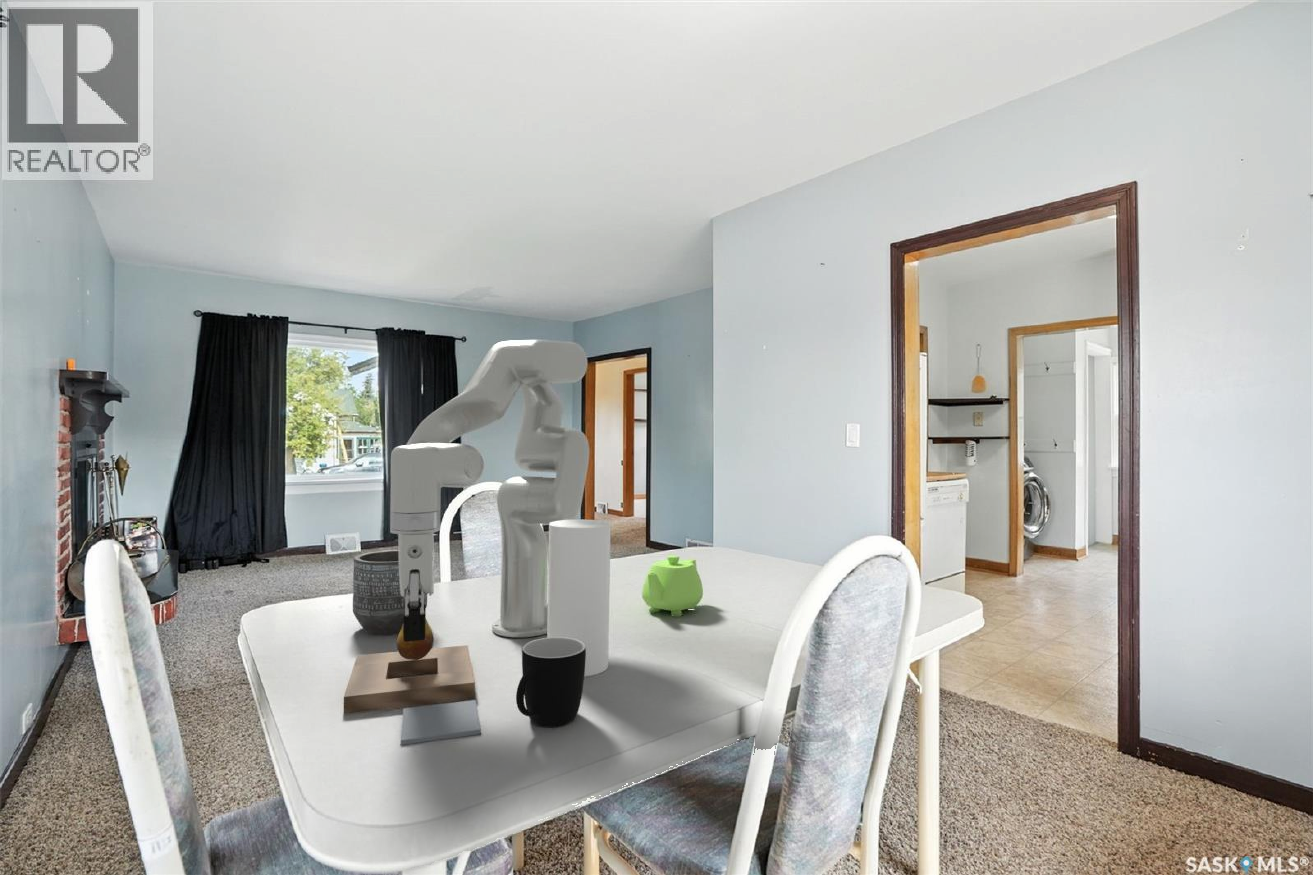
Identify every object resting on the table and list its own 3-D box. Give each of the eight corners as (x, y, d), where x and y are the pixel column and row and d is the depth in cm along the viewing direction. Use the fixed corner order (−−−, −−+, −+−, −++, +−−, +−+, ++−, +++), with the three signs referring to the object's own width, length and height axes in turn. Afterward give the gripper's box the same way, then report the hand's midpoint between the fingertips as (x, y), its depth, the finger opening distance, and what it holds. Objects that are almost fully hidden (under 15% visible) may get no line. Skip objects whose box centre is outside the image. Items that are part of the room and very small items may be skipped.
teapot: (673, 625, 136) (674, 566, 136) (623, 615, 143) (624, 559, 143) (717, 605, 153) (718, 553, 153) (670, 597, 160) (671, 547, 160)
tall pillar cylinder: (617, 659, 114) (619, 521, 114) (592, 681, 104) (595, 529, 104) (564, 652, 118) (566, 517, 118) (535, 672, 108) (537, 525, 108)
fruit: (423, 649, 106) (424, 577, 106) (439, 658, 102) (439, 584, 102) (390, 657, 102) (390, 583, 102) (405, 667, 98) (405, 589, 98)
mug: (547, 699, 97) (549, 633, 97) (596, 713, 92) (598, 643, 92) (492, 731, 86) (493, 656, 86) (544, 747, 82) (545, 669, 82)
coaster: (475, 704, 95) (475, 700, 95) (480, 733, 85) (480, 729, 85) (403, 712, 91) (403, 708, 91) (400, 744, 82) (400, 740, 82)
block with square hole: (467, 659, 113) (467, 645, 113) (474, 698, 96) (474, 682, 96) (356, 670, 107) (357, 655, 107) (343, 714, 90) (343, 696, 90)
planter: (336, 632, 127) (337, 558, 127) (390, 614, 140) (391, 547, 140) (390, 642, 122) (391, 564, 122) (441, 622, 135) (442, 552, 135)
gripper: (441, 529, 95) (440, 649, 95) (439, 514, 111) (438, 617, 111) (387, 531, 93) (386, 655, 93) (393, 515, 109) (392, 621, 109)
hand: (414, 633), depth 102 cm, fingers closed on fruit, 5 cm apart
